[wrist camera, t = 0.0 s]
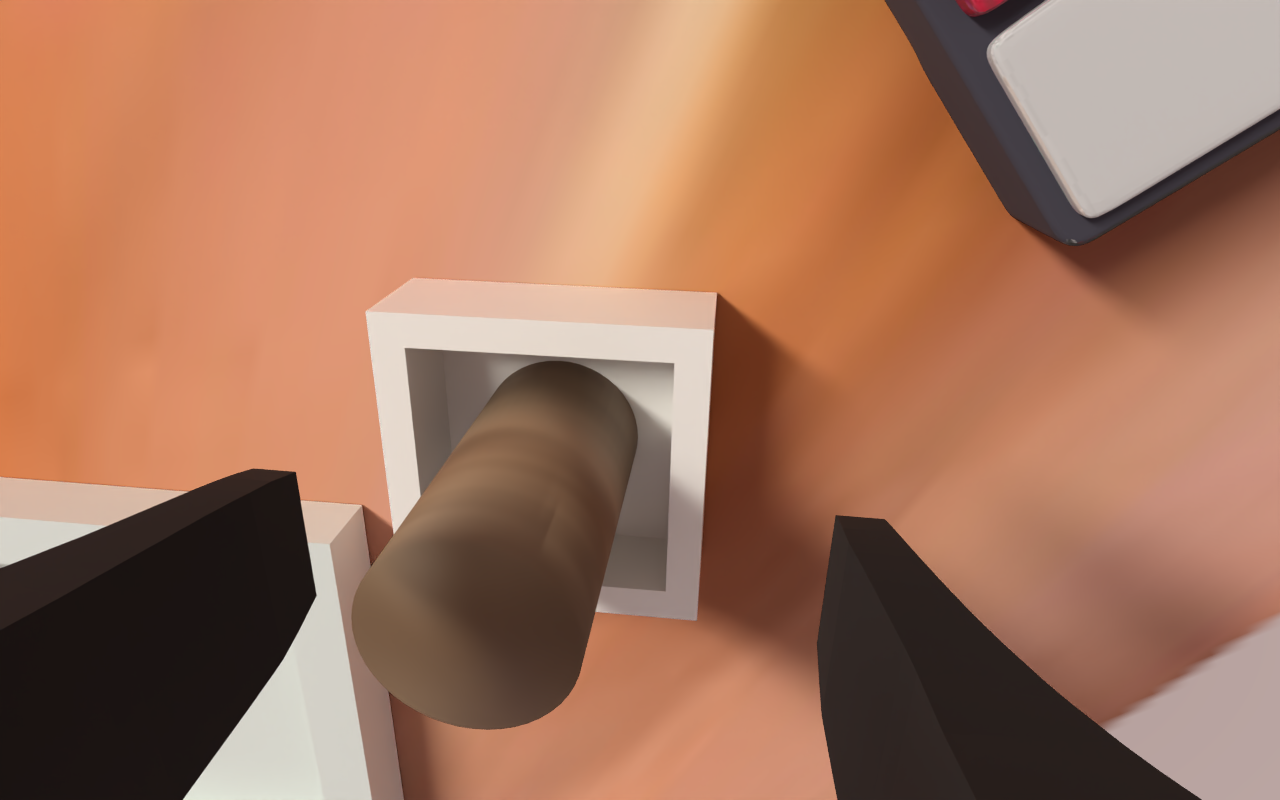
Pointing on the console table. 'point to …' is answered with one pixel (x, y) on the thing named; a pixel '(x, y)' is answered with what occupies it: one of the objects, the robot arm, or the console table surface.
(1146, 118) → the calculator
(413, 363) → the white square open box
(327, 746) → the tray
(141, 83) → the console table surface
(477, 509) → the dowel
